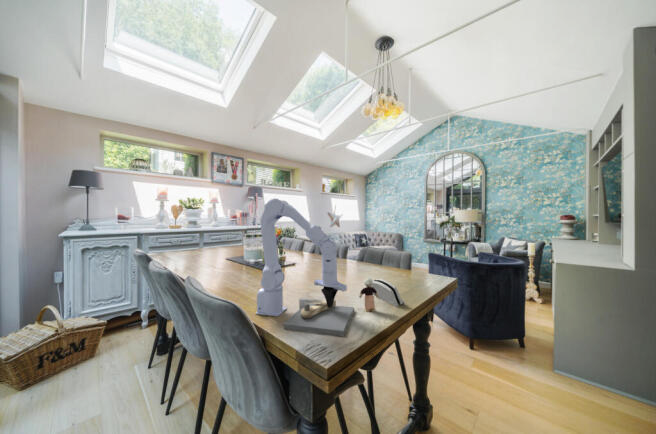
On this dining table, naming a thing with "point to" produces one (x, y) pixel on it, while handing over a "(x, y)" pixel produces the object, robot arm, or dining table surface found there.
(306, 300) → the keeper
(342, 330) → the board
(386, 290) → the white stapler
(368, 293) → the grandmother figurine
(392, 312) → the dining table surface
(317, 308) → the link
